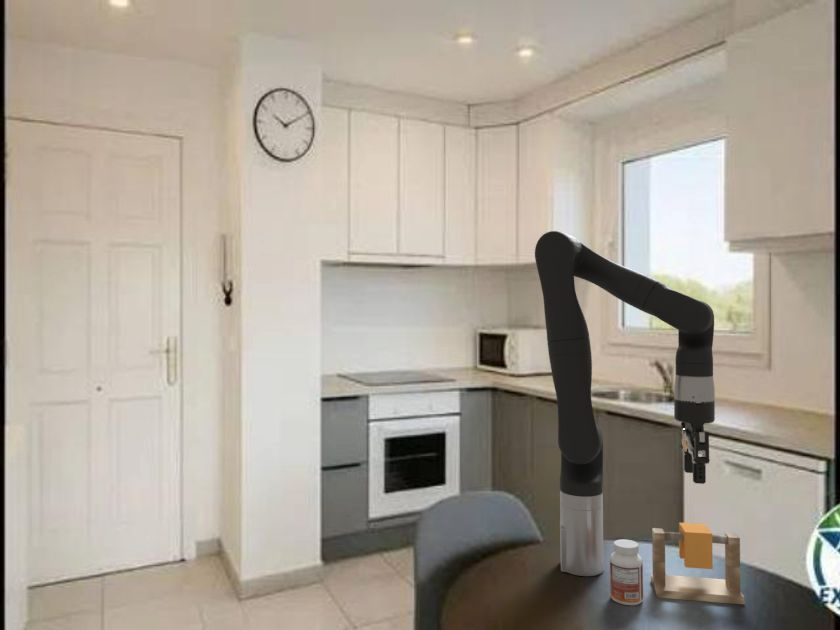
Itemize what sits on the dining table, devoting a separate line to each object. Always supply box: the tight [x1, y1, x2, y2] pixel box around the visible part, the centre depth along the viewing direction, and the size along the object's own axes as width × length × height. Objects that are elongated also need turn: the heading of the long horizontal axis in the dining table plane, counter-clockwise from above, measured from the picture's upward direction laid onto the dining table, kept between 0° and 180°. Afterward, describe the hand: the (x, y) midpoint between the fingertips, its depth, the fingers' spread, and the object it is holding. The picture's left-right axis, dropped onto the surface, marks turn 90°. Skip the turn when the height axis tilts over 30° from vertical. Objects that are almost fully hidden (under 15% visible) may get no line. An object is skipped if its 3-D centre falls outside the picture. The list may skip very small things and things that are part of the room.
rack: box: [650, 527, 745, 605], centre depth 126 cm, size 16×8×12 cm, turn 78°
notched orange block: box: [678, 522, 714, 570], centre depth 126 cm, size 5×6×7 cm
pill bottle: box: [609, 539, 644, 606], centre depth 123 cm, size 6×6×11 cm
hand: (694, 477), depth 126 cm, fingers open, 8 cm apart
